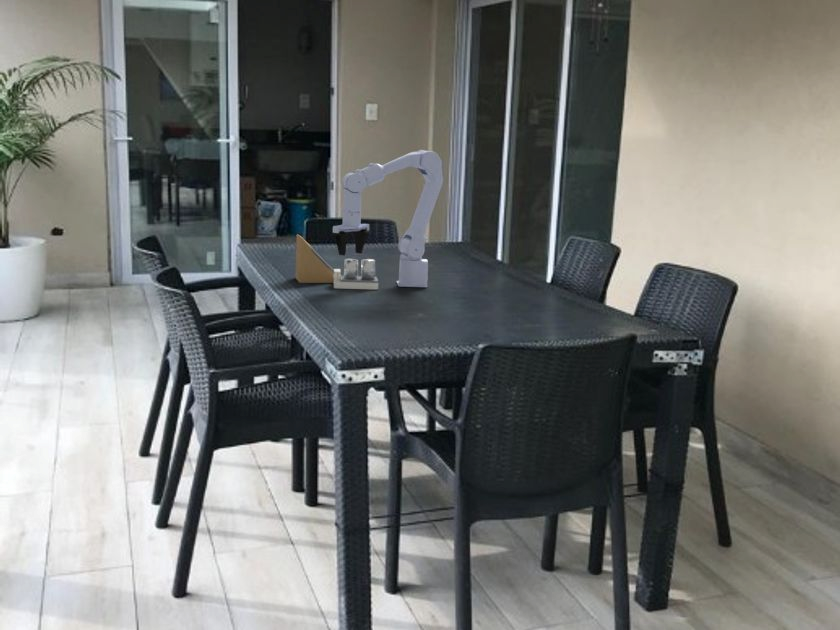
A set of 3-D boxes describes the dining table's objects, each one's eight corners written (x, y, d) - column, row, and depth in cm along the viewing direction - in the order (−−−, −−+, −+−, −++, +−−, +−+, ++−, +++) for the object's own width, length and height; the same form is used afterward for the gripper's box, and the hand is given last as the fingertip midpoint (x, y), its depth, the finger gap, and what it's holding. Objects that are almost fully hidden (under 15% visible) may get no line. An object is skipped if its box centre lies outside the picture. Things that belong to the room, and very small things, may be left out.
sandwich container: (346, 283, 287) (347, 237, 284) (299, 283, 283) (300, 237, 279) (340, 278, 295) (342, 234, 292) (295, 278, 291) (296, 233, 287)
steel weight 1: (352, 276, 284) (352, 258, 283) (360, 278, 281) (361, 260, 279) (341, 277, 281) (341, 259, 280) (349, 280, 278) (350, 261, 277)
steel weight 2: (365, 276, 284) (364, 258, 283) (377, 277, 283) (377, 259, 281) (359, 279, 280) (358, 260, 279) (371, 280, 279) (371, 261, 277)
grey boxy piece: (376, 284, 287) (376, 269, 286) (378, 289, 279) (378, 274, 277) (332, 282, 285) (332, 267, 284) (333, 288, 277) (333, 272, 276)
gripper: (344, 214, 269) (343, 257, 272) (376, 211, 279) (375, 253, 282) (328, 211, 273) (327, 254, 276) (361, 209, 284) (359, 250, 287)
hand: (350, 254), depth 279 cm, fingers open, 7 cm apart
